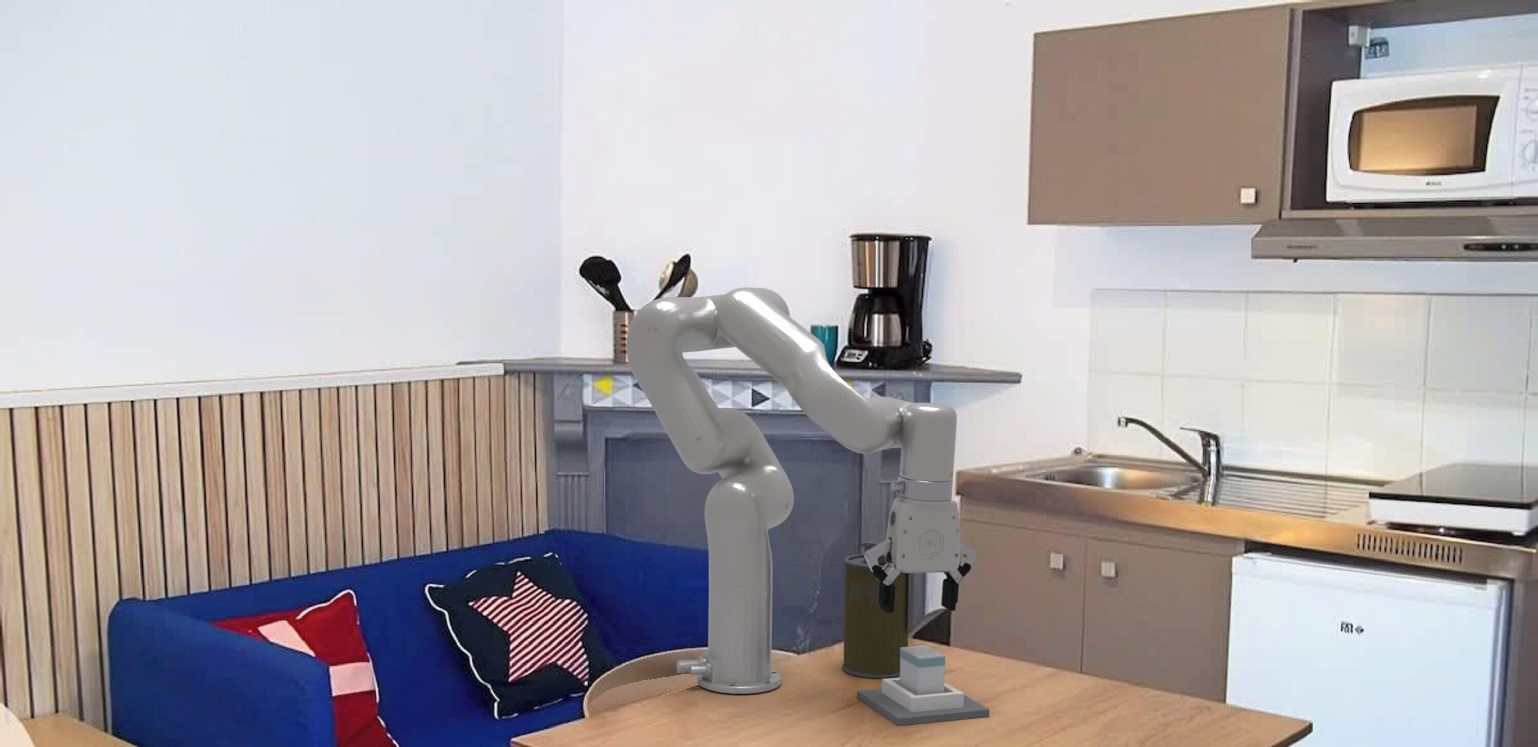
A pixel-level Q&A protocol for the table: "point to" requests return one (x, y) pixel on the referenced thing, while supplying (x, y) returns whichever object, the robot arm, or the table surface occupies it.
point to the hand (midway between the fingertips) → (917, 609)
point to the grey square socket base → (920, 704)
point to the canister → (874, 620)
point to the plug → (922, 670)
